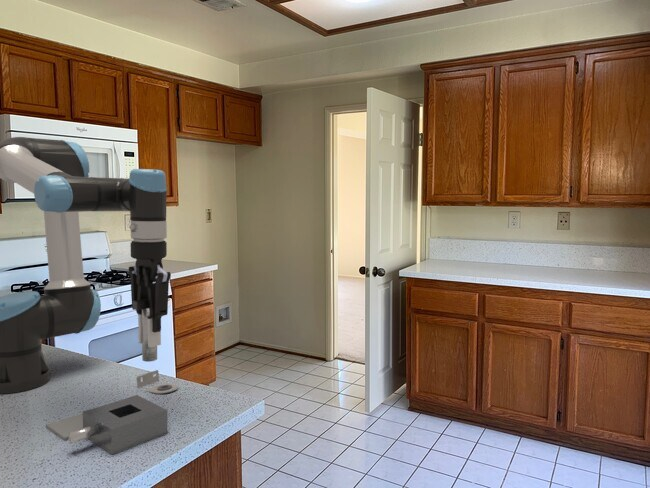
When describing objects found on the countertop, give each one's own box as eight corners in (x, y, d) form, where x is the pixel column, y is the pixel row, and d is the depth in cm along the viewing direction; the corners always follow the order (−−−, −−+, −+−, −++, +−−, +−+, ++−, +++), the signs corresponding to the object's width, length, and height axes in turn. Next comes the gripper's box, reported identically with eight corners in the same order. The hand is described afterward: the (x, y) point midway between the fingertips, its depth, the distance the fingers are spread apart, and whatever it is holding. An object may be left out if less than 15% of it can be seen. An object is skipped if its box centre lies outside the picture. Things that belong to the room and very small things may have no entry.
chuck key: (139, 364, 110) (138, 302, 109) (131, 361, 112) (130, 300, 111) (167, 357, 116) (167, 297, 114) (159, 354, 118) (159, 295, 116)
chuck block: (57, 444, 100) (56, 419, 100) (137, 416, 113) (136, 394, 113) (85, 465, 92) (84, 438, 92) (167, 433, 105) (167, 409, 105)
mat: (46, 427, 107) (46, 424, 107) (88, 413, 114) (88, 411, 114) (64, 440, 102) (64, 437, 101) (108, 425, 108) (107, 422, 108)
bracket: (162, 398, 125) (162, 384, 124) (136, 389, 130) (136, 376, 130) (183, 390, 130) (183, 376, 130) (157, 382, 136) (157, 369, 135)
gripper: (113, 238, 114) (115, 339, 116) (153, 244, 103) (154, 355, 105) (144, 236, 119) (145, 333, 122) (184, 241, 109) (185, 348, 111)
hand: (149, 343), depth 114 cm, fingers closed on chuck key, 3 cm apart
